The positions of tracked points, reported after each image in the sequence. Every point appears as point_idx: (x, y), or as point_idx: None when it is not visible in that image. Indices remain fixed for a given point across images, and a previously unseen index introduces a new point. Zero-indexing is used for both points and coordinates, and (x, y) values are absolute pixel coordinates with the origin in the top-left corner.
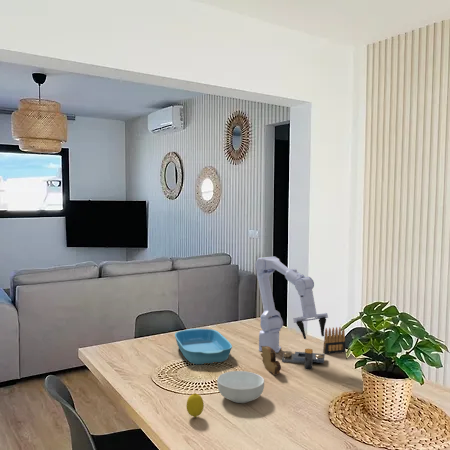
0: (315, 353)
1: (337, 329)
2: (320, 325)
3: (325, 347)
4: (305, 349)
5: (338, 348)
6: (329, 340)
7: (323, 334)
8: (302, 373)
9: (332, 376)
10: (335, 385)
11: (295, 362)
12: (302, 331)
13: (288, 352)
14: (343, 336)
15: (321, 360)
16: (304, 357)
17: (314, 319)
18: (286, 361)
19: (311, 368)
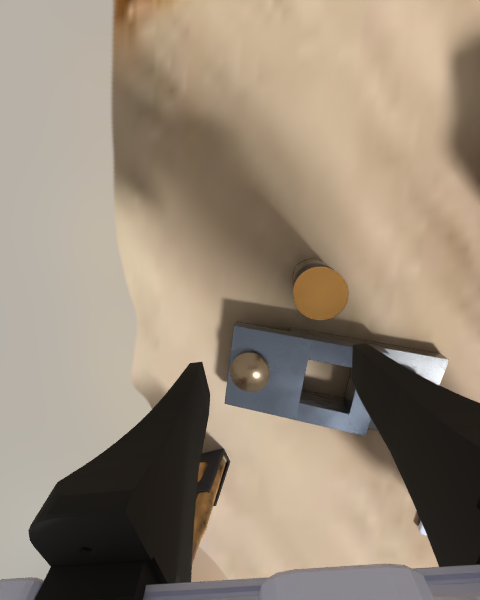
0: (265, 411)
1: None
2: (186, 476)
3: (214, 472)
4: (344, 298)
5: None
6: None
7: (187, 370)
8: (349, 205)
9: (210, 192)
10: (205, 75)
11: (369, 341)
12: (425, 379)
13: None
14: None
15: (245, 326)
16: (326, 356)
17: (250, 581)
18: (416, 350)
19: (298, 264)
